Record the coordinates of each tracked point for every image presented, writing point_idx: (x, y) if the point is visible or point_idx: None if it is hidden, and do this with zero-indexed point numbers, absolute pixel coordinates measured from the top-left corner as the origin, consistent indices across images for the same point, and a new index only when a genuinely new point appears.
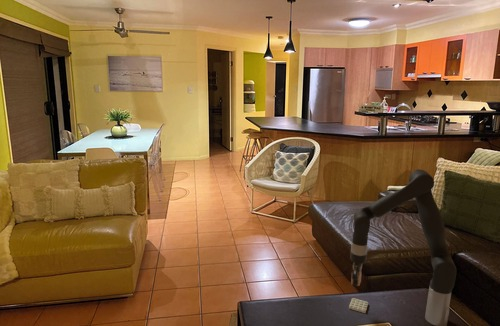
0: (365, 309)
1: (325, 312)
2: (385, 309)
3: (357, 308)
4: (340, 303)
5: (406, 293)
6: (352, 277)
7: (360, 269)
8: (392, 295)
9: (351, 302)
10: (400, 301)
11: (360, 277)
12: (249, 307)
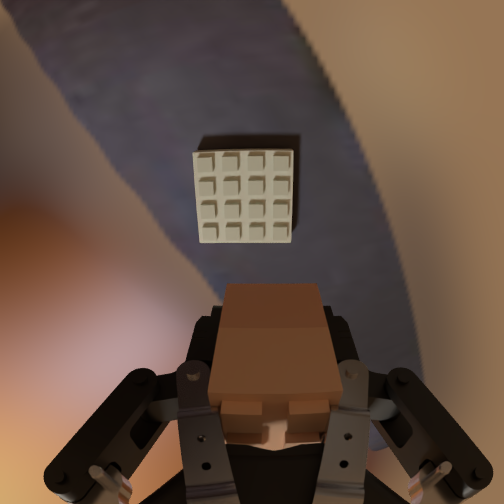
0: (276, 153)
1: (356, 317)
2: (192, 54)
3: (288, 197)
4: (261, 280)
5: (22, 29)
6: (405, 420)
7: (321, 472)
8: (55, 67)
9: (253, 239)
10: (86, 19)
11: (281, 343)
12: (380, 444)
